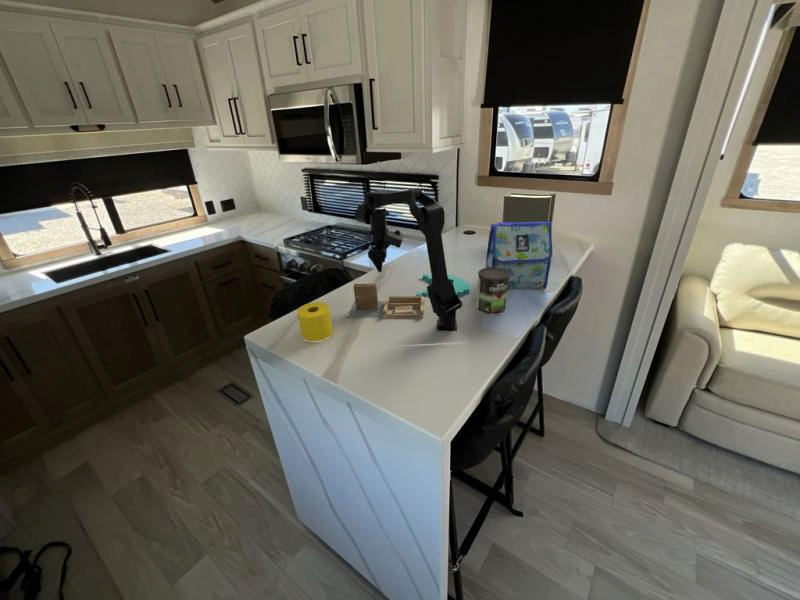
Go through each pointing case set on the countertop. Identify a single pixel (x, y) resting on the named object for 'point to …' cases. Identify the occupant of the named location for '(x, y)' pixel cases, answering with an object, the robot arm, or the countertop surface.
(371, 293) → the wooden block
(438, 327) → the robot arm
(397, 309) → the offcut upper
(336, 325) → the countertop surface
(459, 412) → the countertop surface
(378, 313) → the mat
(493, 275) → the coffee can
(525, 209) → the book
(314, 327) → the yellow paper roll
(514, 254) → the lunch bag
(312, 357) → the countertop surface
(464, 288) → the alien figure
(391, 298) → the rack
